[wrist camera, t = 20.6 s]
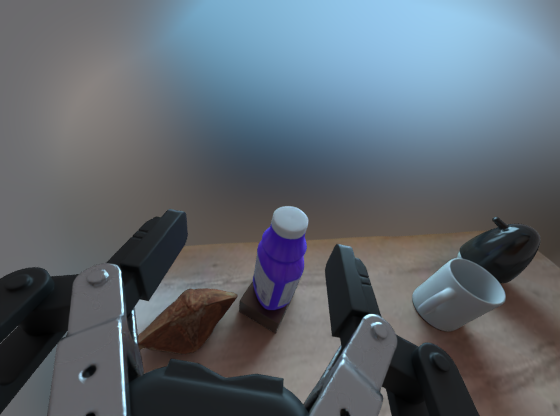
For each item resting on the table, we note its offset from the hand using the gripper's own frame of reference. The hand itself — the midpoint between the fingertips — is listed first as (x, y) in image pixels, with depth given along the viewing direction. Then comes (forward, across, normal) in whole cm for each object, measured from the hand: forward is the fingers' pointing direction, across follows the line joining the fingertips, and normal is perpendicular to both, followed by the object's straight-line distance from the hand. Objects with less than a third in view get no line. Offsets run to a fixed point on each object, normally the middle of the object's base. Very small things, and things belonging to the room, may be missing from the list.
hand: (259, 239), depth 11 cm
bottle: (+13, -3, +24) cm, 27 cm away
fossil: (+8, +8, +28) cm, 30 cm away
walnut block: (+13, -3, +27) cm, 30 cm away
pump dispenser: (+29, -50, +24) cm, 63 cm away
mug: (+17, -34, +26) cm, 46 cm away
